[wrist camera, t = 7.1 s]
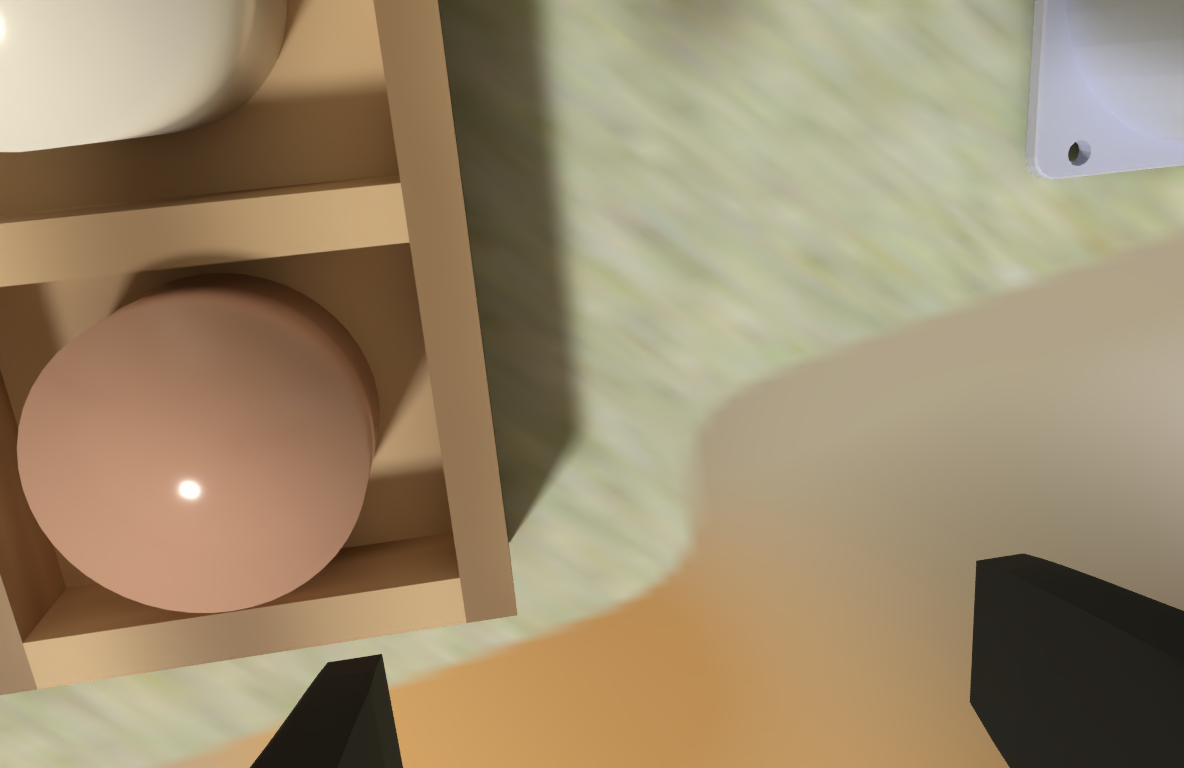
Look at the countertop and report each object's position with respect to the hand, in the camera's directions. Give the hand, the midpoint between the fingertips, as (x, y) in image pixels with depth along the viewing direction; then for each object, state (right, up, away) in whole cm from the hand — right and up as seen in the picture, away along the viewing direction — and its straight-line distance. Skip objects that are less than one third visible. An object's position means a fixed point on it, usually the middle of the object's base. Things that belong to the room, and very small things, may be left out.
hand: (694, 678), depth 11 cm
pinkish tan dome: (-8, +3, +7) cm, 11 cm away
